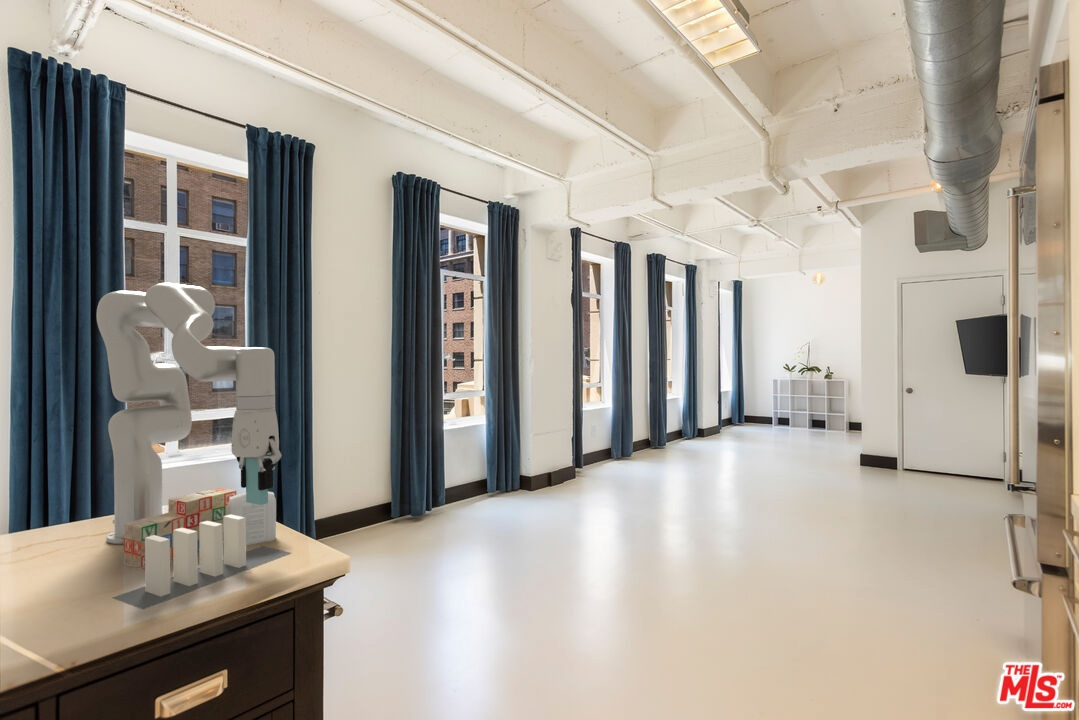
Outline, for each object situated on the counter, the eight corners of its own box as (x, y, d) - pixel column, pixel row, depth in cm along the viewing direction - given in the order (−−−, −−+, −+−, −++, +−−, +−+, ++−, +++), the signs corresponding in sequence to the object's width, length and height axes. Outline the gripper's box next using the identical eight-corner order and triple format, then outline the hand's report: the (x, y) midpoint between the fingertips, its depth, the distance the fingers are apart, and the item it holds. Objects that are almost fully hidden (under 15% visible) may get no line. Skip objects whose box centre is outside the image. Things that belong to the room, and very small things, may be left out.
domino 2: (173, 581, 106) (173, 529, 106) (182, 578, 107) (181, 527, 107) (189, 586, 104) (188, 533, 103) (197, 583, 105) (197, 531, 105)
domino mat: (112, 600, 99) (112, 597, 99) (262, 548, 126) (262, 545, 126) (143, 612, 94) (143, 609, 94) (292, 555, 121) (292, 552, 121)
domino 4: (223, 563, 115) (223, 516, 115) (230, 561, 116) (230, 514, 116) (238, 567, 112) (238, 519, 112) (246, 565, 114) (245, 517, 114)
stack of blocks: (140, 572, 112) (140, 512, 112) (123, 567, 115) (122, 508, 115) (237, 540, 132) (237, 489, 131) (220, 536, 134) (220, 486, 134)
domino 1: (145, 591, 101) (144, 537, 101) (154, 587, 103) (154, 535, 103) (160, 596, 99) (160, 541, 99) (170, 593, 101) (169, 539, 100)
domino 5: (246, 502, 119) (245, 456, 119) (252, 500, 120) (252, 455, 120) (261, 504, 117) (260, 458, 117) (268, 503, 118) (267, 457, 118)
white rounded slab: (274, 537, 133) (274, 486, 133) (277, 542, 130) (277, 490, 130) (226, 545, 128) (226, 492, 128) (227, 550, 124) (227, 496, 124)
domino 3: (199, 572, 110) (199, 522, 110) (207, 569, 112) (207, 520, 112) (215, 576, 108) (214, 526, 108) (222, 573, 109) (222, 524, 109)
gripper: (214, 404, 119) (215, 487, 119) (266, 406, 111) (267, 495, 111) (246, 401, 126) (247, 480, 126) (297, 403, 118) (298, 487, 118)
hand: (257, 486), depth 119 cm, fingers closed on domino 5, 4 cm apart
